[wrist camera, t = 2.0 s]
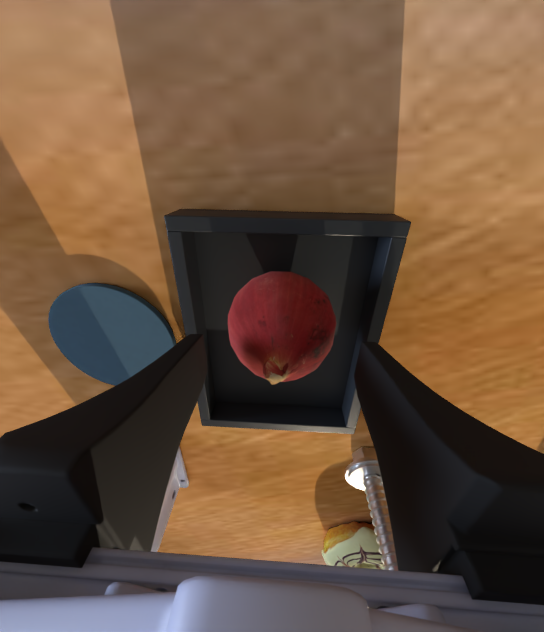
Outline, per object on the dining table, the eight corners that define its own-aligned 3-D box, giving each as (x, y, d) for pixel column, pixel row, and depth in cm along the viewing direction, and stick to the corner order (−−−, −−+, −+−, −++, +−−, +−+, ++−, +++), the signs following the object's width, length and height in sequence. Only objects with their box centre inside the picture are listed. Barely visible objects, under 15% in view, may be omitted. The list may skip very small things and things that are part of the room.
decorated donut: (356, 507, 32) (364, 546, 28) (420, 533, 34) (435, 572, 31) (307, 537, 36) (309, 574, 33) (366, 558, 39) (373, 594, 35)
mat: (185, 386, 23) (183, 390, 22) (79, 380, 23) (75, 384, 23) (164, 285, 18) (161, 288, 18) (31, 280, 18) (25, 283, 18)
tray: (348, 410, 23) (354, 434, 21) (209, 403, 24) (201, 425, 22) (394, 213, 15) (411, 221, 13) (179, 208, 16) (163, 215, 13)
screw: (383, 433, 25) (395, 462, 27) (334, 446, 26) (349, 471, 28) (463, 658, 13) (474, 676, 16) (370, 660, 15) (391, 676, 17)
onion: (330, 254, 16) (364, 322, 9) (321, 333, 19) (341, 429, 12) (237, 252, 16) (200, 317, 9) (241, 330, 19) (215, 423, 12)
